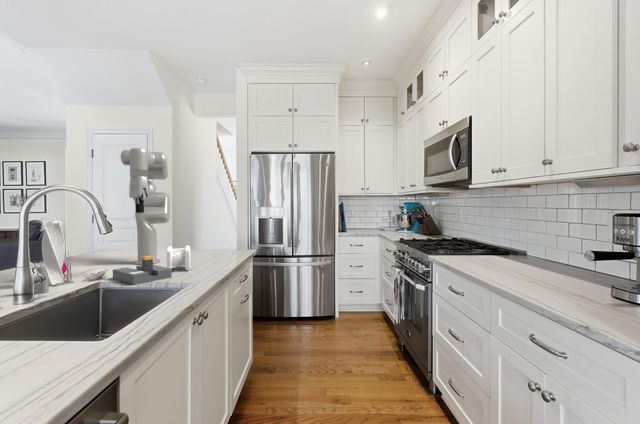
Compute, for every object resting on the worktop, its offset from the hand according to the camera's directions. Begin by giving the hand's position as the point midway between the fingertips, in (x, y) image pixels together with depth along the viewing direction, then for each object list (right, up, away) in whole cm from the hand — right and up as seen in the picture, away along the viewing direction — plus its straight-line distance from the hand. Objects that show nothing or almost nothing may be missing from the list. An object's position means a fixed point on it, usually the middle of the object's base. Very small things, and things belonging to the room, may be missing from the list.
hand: (139, 212), depth 153 cm
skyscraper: (-24, -30, -20) cm, 43 cm away
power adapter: (-19, -30, -34) cm, 49 cm away
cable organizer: (+15, -29, +8) cm, 34 cm away
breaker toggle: (+11, -27, -13) cm, 32 cm away
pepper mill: (-30, -30, -12) cm, 44 cm away
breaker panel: (+7, -29, -10) cm, 32 cm away
